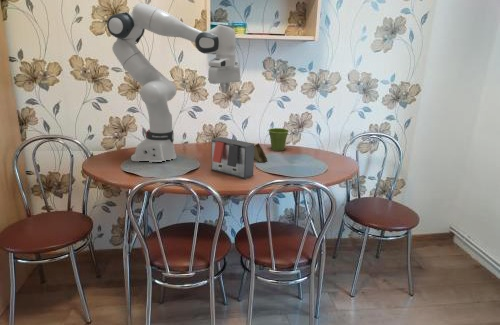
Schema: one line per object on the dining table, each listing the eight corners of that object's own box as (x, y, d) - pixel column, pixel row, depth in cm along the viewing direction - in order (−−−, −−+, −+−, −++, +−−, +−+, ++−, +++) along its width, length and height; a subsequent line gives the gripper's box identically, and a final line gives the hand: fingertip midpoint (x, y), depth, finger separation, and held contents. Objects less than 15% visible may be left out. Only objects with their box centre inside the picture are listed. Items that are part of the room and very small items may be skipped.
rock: (246, 152, 188) (246, 155, 179) (256, 140, 187) (257, 142, 178) (262, 165, 190) (263, 168, 180) (272, 152, 189) (274, 155, 179)
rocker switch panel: (220, 167, 171) (220, 136, 167) (253, 175, 161) (254, 143, 157) (210, 171, 166) (210, 139, 161) (244, 179, 156) (245, 147, 151)
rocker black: (229, 164, 157) (232, 144, 156) (237, 166, 155) (239, 146, 154) (227, 165, 156) (229, 144, 154) (234, 167, 154) (236, 146, 152)
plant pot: (267, 146, 211) (268, 127, 208) (287, 147, 210) (289, 128, 207) (266, 151, 200) (267, 132, 196) (287, 152, 199) (289, 133, 195)
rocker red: (215, 161, 161) (218, 141, 160) (222, 163, 159) (225, 143, 158) (212, 161, 159) (215, 141, 159) (219, 162, 157) (222, 142, 156)
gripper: (233, 61, 173) (232, 90, 178) (205, 62, 157) (205, 93, 162) (244, 62, 170) (243, 91, 174) (217, 62, 154) (216, 94, 158)
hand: (224, 92), depth 168 cm, fingers closed
